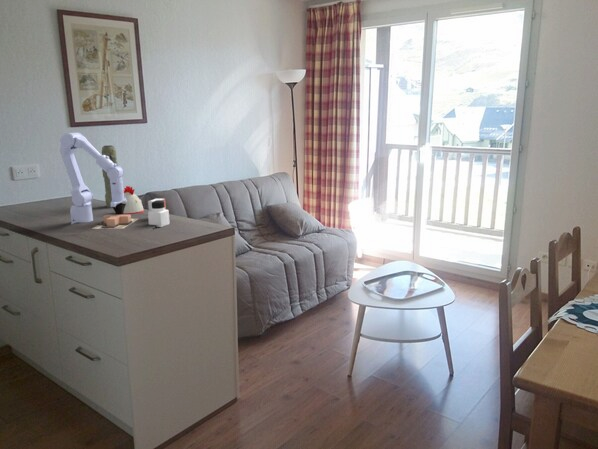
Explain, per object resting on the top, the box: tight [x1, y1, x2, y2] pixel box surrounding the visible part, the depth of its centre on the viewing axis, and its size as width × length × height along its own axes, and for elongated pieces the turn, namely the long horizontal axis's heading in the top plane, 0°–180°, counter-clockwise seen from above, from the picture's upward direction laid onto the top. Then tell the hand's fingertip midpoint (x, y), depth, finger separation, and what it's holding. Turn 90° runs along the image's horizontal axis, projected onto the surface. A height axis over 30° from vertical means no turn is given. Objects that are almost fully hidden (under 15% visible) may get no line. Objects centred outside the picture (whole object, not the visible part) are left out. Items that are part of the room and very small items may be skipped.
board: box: [91, 218, 139, 230], centre depth 229 cm, size 15×21×2 cm
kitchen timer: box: [123, 185, 144, 215], centre depth 255 cm, size 14×14×15 cm
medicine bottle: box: [147, 200, 171, 228], centre depth 227 cm, size 7×7×12 cm
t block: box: [102, 214, 132, 226], centre depth 227 cm, size 12×10×4 cm
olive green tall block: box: [101, 145, 119, 209], centre depth 272 cm, size 9×12×35 cm
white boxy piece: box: [147, 198, 167, 212], centre depth 238 cm, size 8×6×10 cm
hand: (120, 218), depth 234 cm, fingers closed
